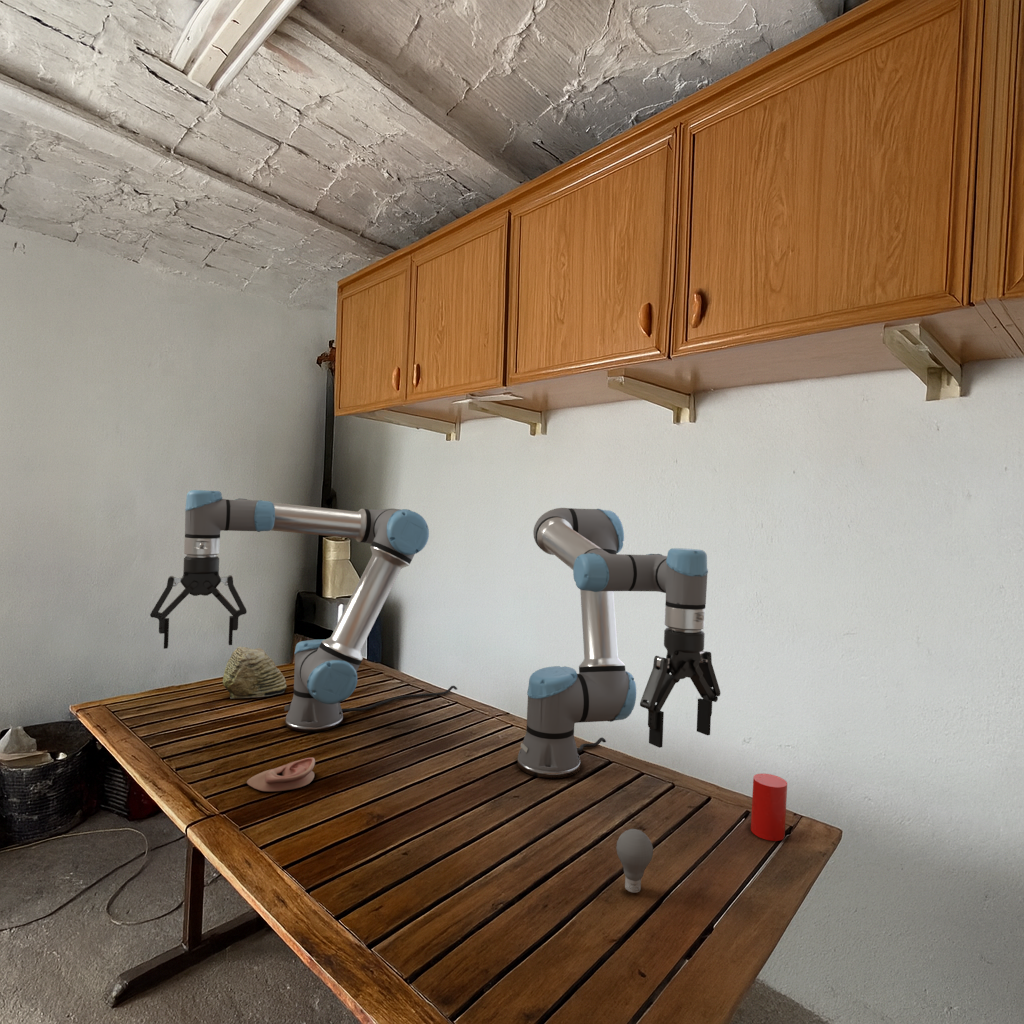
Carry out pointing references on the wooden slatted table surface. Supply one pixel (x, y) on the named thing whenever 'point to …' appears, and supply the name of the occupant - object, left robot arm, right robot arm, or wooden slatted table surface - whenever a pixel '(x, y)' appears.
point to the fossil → (252, 674)
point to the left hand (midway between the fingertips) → (198, 645)
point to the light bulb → (634, 857)
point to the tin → (769, 807)
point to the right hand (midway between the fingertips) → (680, 739)
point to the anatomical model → (284, 776)
